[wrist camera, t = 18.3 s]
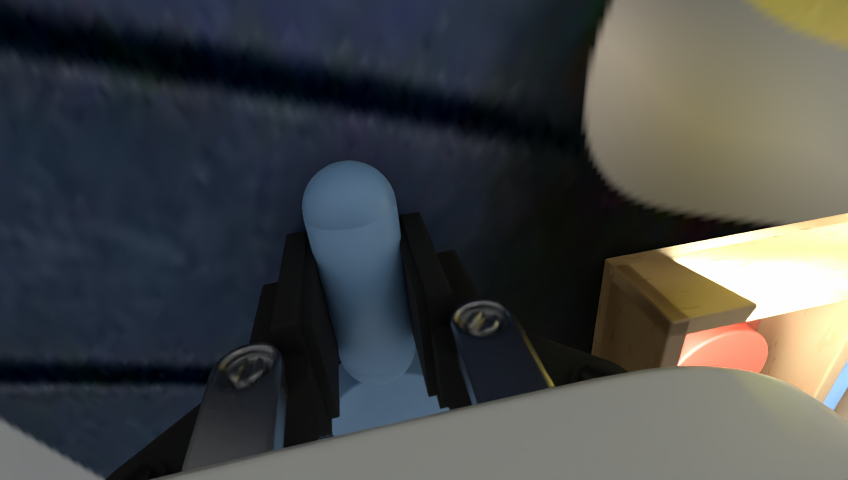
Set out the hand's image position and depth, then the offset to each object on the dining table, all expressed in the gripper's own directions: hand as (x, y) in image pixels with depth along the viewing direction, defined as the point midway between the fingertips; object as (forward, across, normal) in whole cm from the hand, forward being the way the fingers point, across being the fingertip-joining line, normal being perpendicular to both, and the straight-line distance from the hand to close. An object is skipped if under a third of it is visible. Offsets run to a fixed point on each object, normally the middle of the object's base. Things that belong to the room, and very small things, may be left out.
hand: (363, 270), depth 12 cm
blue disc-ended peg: (0, 0, +2) cm, 2 cm away
